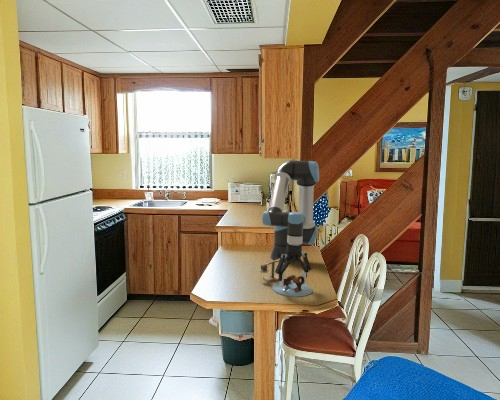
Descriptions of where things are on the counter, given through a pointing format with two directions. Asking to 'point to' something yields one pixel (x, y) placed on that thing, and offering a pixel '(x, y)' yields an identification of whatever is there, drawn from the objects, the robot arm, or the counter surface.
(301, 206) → the robot arm
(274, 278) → the balance
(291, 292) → the plate
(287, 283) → the pottery mug
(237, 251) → the counter surface
